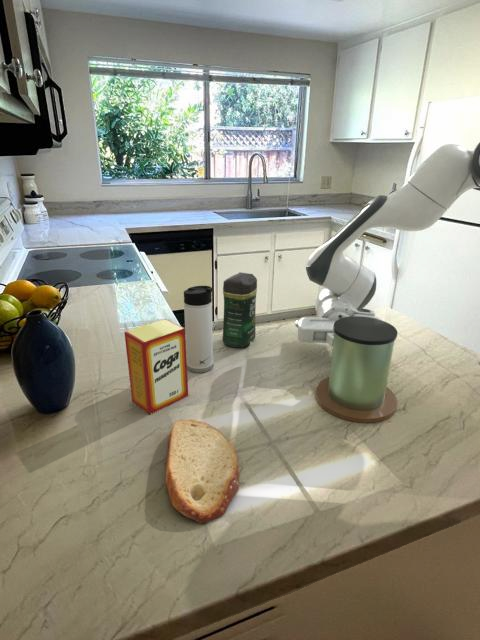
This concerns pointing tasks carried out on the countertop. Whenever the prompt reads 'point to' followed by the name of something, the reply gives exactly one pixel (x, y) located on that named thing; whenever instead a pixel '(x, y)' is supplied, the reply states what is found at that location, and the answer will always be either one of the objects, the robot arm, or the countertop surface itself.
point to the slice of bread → (200, 470)
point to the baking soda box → (157, 364)
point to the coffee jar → (239, 309)
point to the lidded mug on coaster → (359, 371)
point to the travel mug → (198, 328)
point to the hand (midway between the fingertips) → (346, 346)
